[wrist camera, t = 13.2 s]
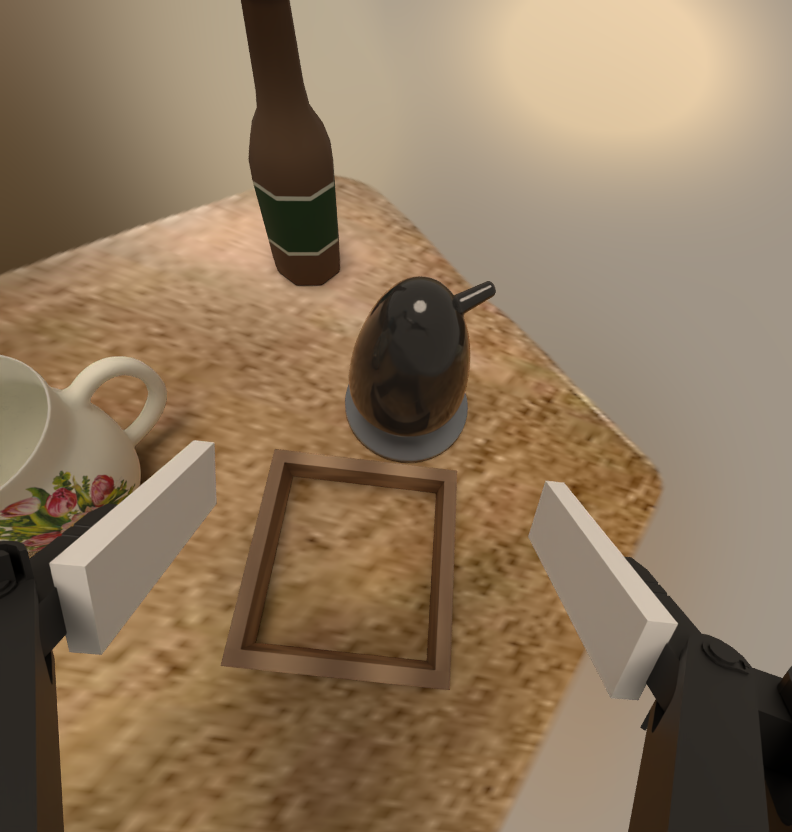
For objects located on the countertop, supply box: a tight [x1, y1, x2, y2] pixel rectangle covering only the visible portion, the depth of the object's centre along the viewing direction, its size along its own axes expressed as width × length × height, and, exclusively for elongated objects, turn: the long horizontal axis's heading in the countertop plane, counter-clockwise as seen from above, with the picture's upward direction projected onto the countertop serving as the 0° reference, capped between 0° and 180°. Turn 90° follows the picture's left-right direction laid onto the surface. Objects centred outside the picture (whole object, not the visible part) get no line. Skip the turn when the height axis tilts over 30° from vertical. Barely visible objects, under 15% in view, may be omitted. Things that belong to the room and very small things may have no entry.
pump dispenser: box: [349, 276, 496, 437], centre depth 31 cm, size 10×10×15 cm
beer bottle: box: [241, 0, 340, 285], centre depth 34 cm, size 8×8×24 cm
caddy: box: [221, 449, 457, 690], centre depth 30 cm, size 15×15×4 cm
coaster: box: [345, 385, 468, 463], centre depth 38 cm, size 12×12×1 cm
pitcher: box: [0, 355, 167, 552], centre depth 27 cm, size 11×18×14 cm, turn 140°
